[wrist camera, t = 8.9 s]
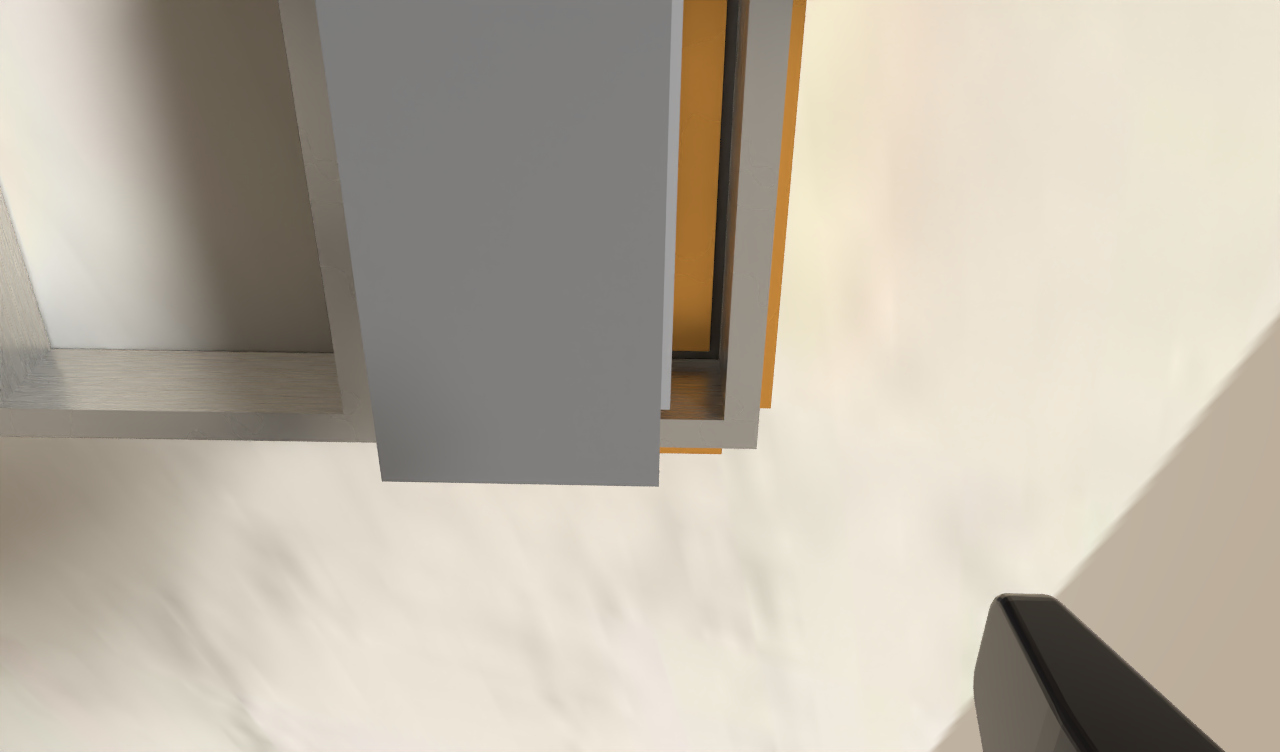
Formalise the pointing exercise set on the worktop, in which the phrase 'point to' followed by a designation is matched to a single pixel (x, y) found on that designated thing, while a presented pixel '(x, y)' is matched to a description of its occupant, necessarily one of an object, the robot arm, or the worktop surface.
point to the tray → (337, 382)
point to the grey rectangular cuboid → (511, 230)
